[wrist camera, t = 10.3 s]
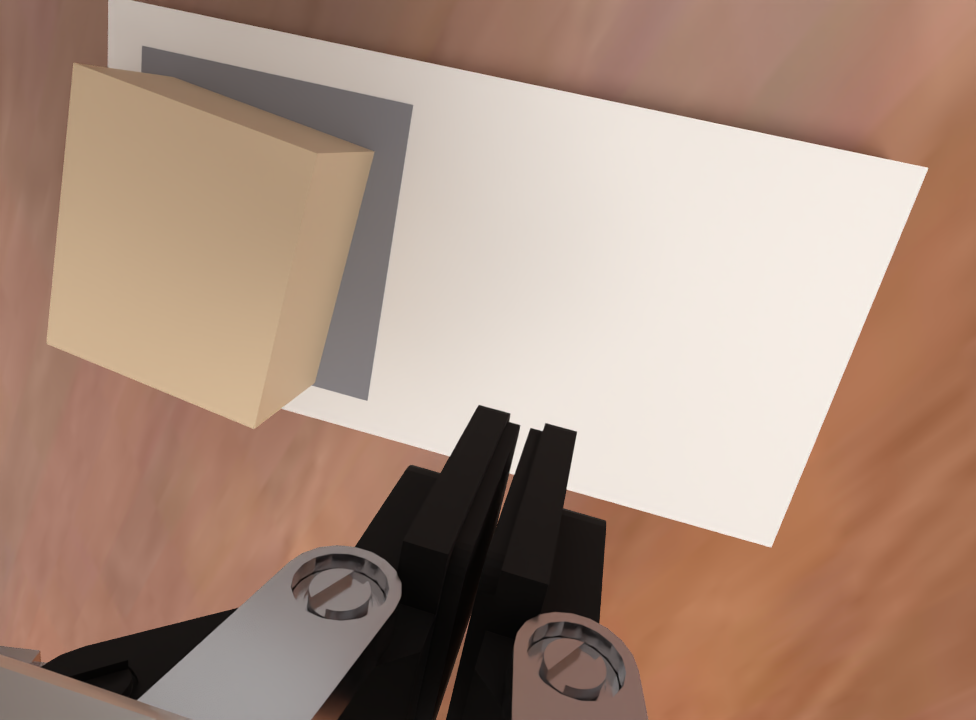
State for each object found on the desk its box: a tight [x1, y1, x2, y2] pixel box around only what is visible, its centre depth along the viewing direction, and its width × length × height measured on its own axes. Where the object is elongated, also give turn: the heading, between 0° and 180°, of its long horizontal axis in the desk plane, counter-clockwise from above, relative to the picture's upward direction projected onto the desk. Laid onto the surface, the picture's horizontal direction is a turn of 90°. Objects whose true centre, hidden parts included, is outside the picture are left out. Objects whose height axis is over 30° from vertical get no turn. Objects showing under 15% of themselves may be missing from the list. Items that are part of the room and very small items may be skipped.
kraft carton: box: [46, 63, 375, 429], centre depth 25 cm, size 10×8×5 cm
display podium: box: [108, 0, 928, 547], centre depth 28 cm, size 15×30×3 cm, turn 78°
